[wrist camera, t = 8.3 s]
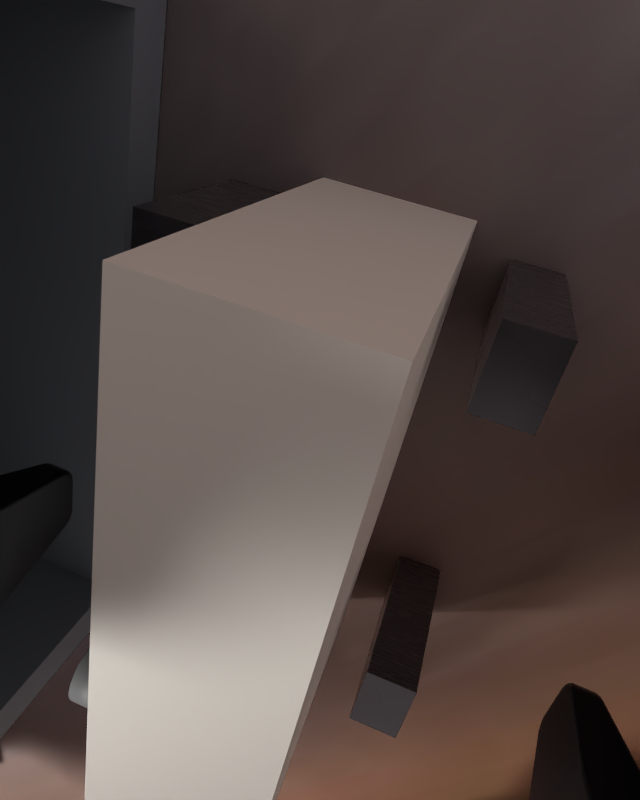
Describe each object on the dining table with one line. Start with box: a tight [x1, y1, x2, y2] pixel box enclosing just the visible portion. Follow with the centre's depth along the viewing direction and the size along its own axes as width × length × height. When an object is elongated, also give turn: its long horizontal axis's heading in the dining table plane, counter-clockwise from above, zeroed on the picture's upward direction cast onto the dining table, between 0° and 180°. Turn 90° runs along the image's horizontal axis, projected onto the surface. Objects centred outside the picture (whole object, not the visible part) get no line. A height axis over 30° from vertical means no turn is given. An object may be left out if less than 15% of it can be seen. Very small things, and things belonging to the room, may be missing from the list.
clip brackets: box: [131, 180, 578, 738], centre depth 12 cm, size 9×7×4 cm
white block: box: [69, 177, 477, 800], centre depth 11 cm, size 10×4×7 cm, turn 167°
